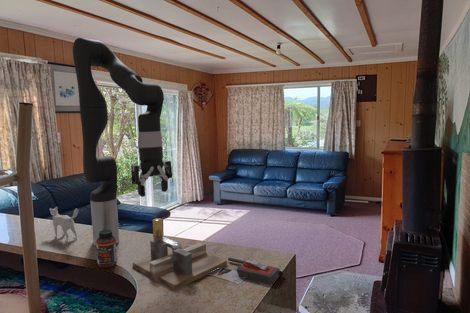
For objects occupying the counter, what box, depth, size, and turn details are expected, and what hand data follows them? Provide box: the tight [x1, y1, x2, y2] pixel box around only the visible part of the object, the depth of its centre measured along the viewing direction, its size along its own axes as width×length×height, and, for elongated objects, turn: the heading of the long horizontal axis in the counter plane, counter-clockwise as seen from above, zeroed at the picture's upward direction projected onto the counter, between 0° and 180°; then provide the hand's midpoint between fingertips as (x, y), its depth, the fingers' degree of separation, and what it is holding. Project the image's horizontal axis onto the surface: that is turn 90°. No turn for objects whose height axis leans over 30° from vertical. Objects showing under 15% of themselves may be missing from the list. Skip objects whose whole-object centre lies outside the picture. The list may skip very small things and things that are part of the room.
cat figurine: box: [49, 205, 80, 243], centre depth 136 cm, size 4×20×14 cm, turn 54°
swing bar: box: [152, 217, 183, 250], centre depth 113 cm, size 13×3×7 cm, turn 48°
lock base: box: [132, 239, 228, 291], centre depth 111 cm, size 22×21×8 cm
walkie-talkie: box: [227, 257, 284, 285], centre depth 106 cm, size 9×4×20 cm
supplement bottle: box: [95, 230, 117, 269], centre depth 113 cm, size 6×6×11 cm
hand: (153, 193), depth 115 cm, fingers open, 8 cm apart
